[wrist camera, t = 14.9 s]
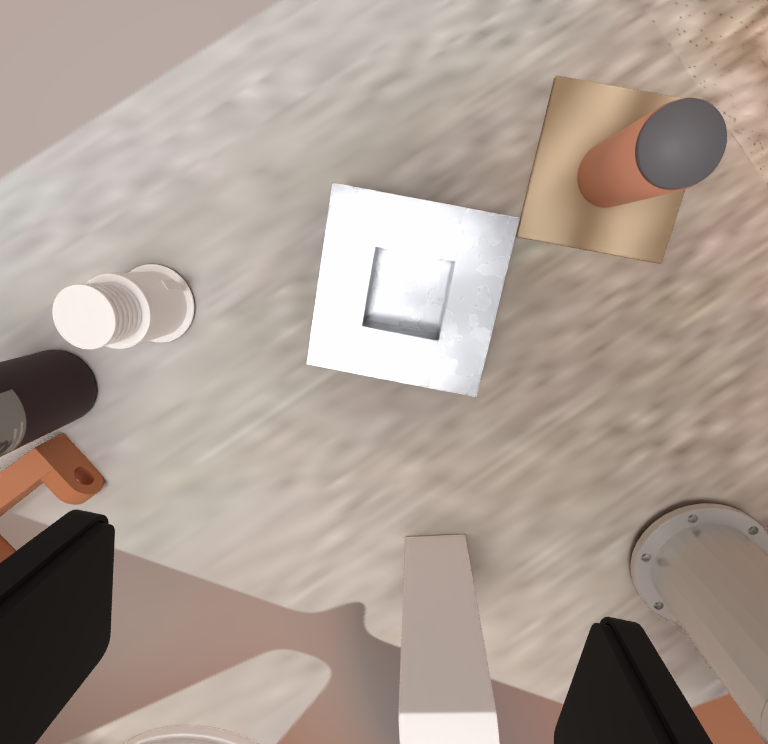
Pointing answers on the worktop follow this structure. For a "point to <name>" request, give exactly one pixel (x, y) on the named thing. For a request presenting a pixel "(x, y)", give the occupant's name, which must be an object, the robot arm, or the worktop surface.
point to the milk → (443, 648)
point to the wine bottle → (42, 396)
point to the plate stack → (190, 736)
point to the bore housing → (409, 289)
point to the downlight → (125, 308)
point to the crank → (48, 478)
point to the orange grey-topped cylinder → (655, 154)
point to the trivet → (560, 170)
